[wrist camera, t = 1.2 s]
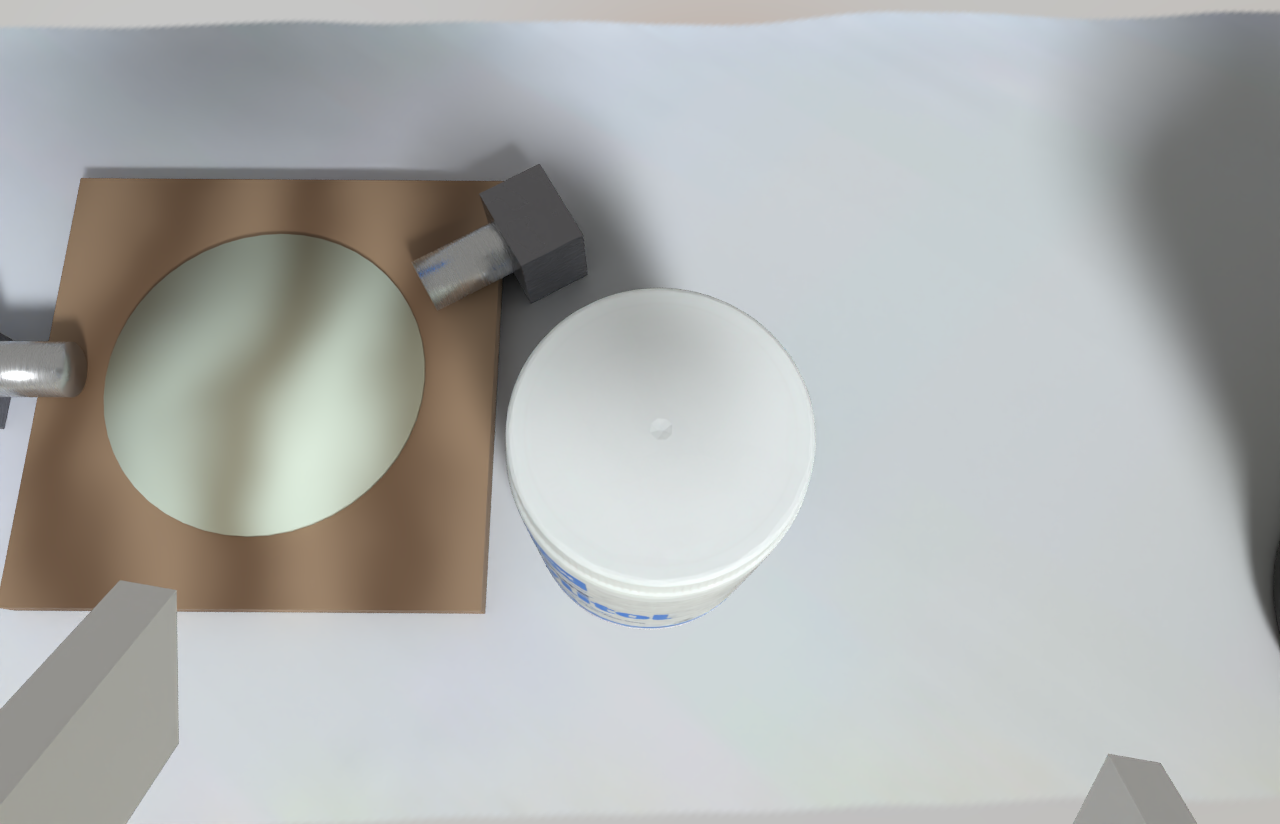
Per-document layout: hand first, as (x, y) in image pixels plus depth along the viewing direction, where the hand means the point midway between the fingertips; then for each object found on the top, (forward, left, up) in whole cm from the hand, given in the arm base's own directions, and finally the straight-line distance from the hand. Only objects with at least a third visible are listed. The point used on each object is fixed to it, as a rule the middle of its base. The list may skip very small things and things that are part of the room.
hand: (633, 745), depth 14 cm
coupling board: (+17, -14, -28) cm, 35 cm away
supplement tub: (0, -8, -28) cm, 29 cm away
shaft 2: (+7, -20, -28) cm, 35 cm away
